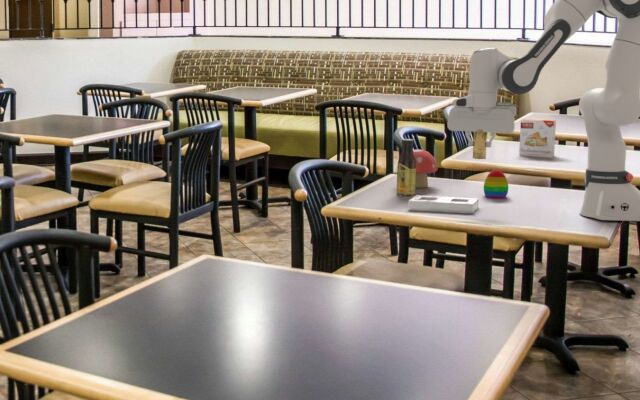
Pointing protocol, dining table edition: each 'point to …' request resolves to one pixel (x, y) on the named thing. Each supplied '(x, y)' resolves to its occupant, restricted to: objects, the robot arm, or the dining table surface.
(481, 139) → the brass cylinder
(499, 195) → the decorative egg
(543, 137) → the cracker box
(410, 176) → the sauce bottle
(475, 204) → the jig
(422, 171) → the decorative mushroom
